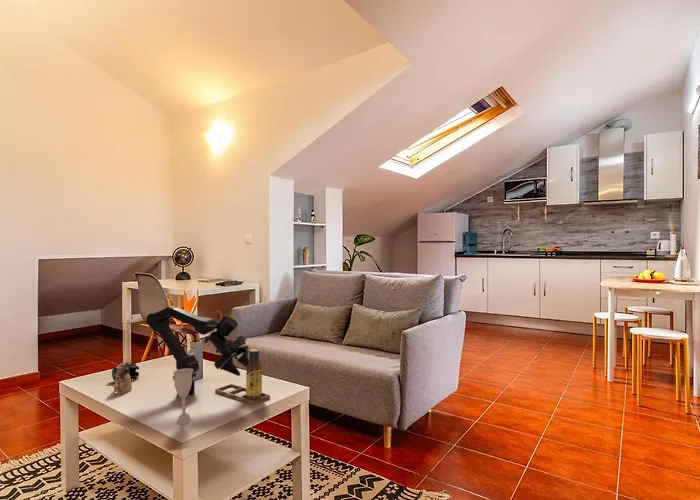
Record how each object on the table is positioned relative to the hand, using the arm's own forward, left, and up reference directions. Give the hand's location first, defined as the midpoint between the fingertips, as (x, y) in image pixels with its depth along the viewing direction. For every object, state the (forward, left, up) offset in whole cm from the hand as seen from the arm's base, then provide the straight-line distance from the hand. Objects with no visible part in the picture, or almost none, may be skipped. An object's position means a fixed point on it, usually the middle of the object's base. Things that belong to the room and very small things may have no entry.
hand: (245, 371), depth 174 cm
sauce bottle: (+3, -2, -11) cm, 12 cm away
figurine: (-49, +32, -11) cm, 60 cm away
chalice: (-23, -14, -11) cm, 30 cm away
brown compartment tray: (-1, +4, -11) cm, 12 cm away
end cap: (-50, +49, -11) cm, 71 cm away
